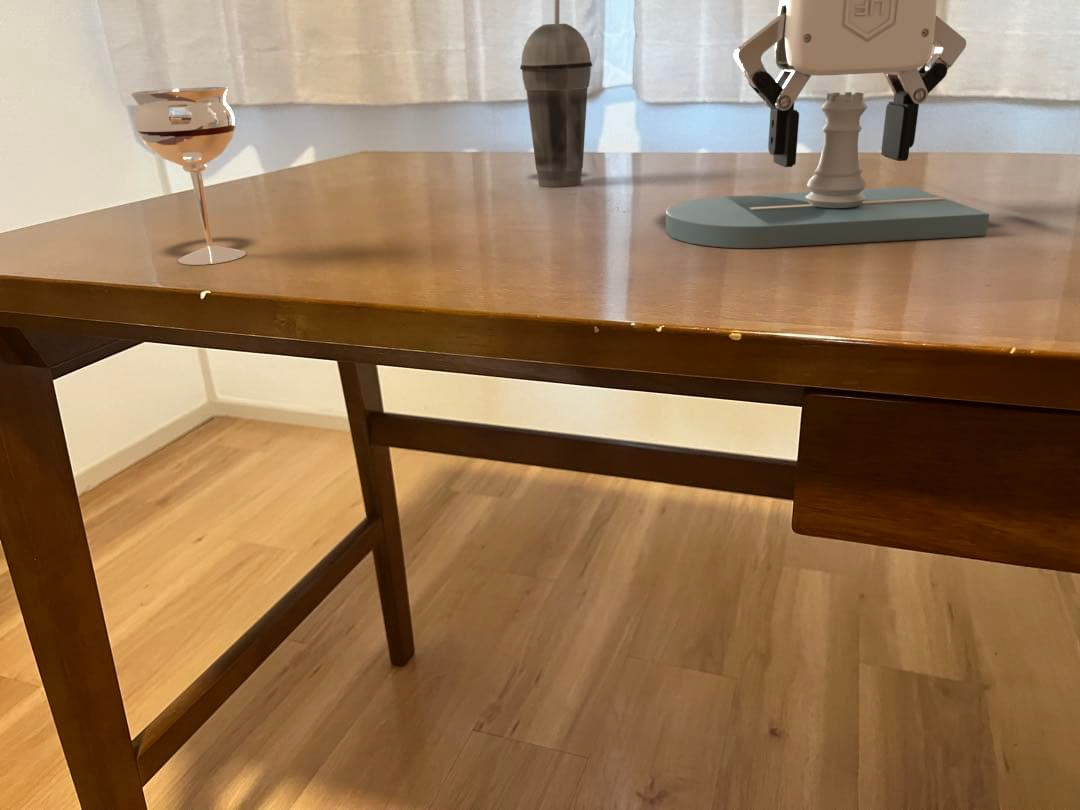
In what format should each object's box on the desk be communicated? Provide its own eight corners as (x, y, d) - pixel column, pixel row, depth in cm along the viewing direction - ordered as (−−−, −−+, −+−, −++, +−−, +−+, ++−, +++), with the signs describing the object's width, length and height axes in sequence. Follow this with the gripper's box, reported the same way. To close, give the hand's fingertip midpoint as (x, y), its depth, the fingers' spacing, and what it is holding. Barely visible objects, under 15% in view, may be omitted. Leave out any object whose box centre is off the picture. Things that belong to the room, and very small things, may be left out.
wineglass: (198, 245, 69) (166, 88, 65) (274, 246, 68) (247, 85, 63) (145, 267, 63) (106, 95, 58) (227, 268, 62) (194, 92, 57)
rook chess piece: (796, 200, 68) (804, 93, 65) (850, 196, 68) (861, 90, 65) (818, 210, 64) (827, 97, 61) (875, 206, 64) (888, 93, 61)
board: (909, 205, 73) (912, 185, 72) (986, 236, 62) (990, 212, 61) (652, 219, 72) (653, 199, 71) (684, 252, 61) (684, 228, 60)
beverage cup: (515, 188, 89) (504, -27, 81) (538, 177, 95) (530, -24, 87) (583, 189, 86) (578, -32, 78) (602, 178, 93) (599, -29, 85)
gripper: (753, -109, 54) (739, 175, 61) (1021, -120, 55) (977, 162, 62) (722, -93, 61) (713, 161, 68) (961, -103, 62) (927, 149, 69)
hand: (839, 160), depth 65 cm, fingers open, 8 cm apart
